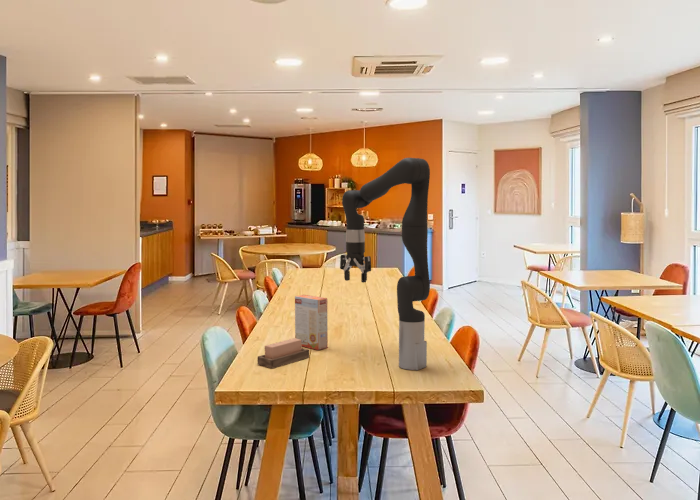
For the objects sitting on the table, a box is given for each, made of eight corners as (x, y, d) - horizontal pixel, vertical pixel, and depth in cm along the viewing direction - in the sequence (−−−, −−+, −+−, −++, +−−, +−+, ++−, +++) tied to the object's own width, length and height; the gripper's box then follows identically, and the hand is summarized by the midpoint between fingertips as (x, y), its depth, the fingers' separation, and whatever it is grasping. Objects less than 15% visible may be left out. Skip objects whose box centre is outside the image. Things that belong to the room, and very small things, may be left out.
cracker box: (328, 348, 238) (328, 297, 236) (317, 350, 233) (317, 299, 231) (305, 342, 247) (304, 293, 245) (294, 344, 243) (294, 295, 241)
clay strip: (294, 353, 226) (294, 338, 226) (301, 355, 224) (301, 339, 223) (265, 361, 215) (264, 345, 214) (272, 363, 212) (272, 347, 212)
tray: (309, 357, 224) (309, 349, 223) (272, 368, 209) (272, 360, 209) (294, 353, 229) (294, 346, 229) (257, 364, 215) (257, 356, 214)
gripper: (375, 241, 228) (375, 282, 230) (347, 239, 237) (348, 278, 239) (363, 242, 222) (363, 284, 224) (335, 240, 232) (335, 280, 233)
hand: (355, 281), depth 231 cm, fingers open, 8 cm apart
